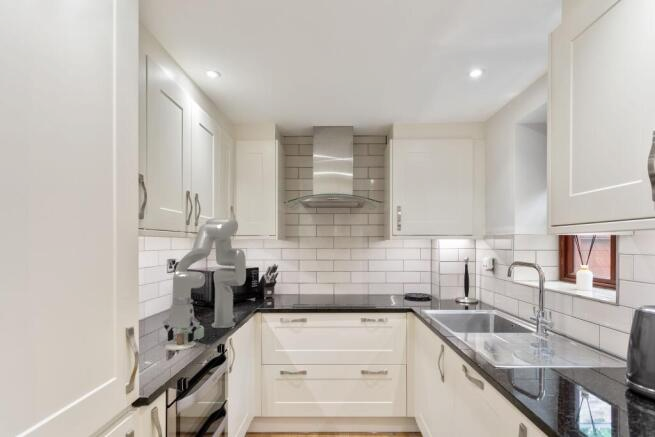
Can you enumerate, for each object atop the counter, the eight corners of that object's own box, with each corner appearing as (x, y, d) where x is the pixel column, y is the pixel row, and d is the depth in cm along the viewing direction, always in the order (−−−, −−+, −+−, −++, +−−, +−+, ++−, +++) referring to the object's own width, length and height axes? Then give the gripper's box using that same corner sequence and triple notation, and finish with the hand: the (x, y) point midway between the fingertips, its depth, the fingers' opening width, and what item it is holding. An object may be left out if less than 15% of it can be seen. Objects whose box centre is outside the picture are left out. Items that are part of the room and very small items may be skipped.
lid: (176, 341, 165) (176, 329, 165) (200, 343, 162) (200, 331, 163) (159, 349, 153) (159, 336, 153) (185, 351, 151) (185, 338, 151)
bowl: (186, 334, 178) (186, 324, 179) (207, 335, 177) (207, 325, 177) (173, 341, 167) (173, 330, 168) (195, 342, 166) (195, 331, 166)
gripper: (204, 300, 161) (203, 339, 160) (169, 299, 164) (168, 337, 163) (194, 303, 153) (193, 344, 153) (158, 302, 157) (157, 342, 156)
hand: (180, 340), depth 158 cm, fingers open, 9 cm apart
